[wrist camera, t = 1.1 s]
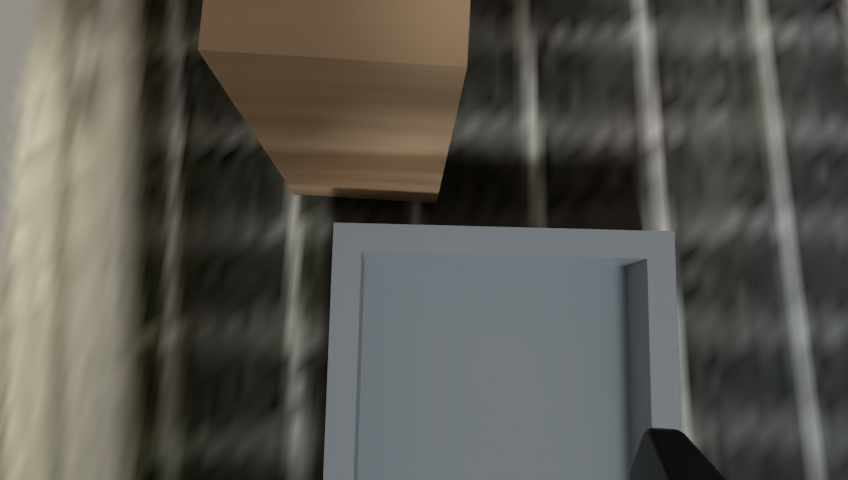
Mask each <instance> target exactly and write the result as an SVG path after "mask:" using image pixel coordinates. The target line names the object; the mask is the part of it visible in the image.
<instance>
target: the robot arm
mask: <svg viewBox="0 0 848 480" xmlns="http://www.w3.org/2000/svg"><path fill="white" fill-rule="evenodd" d="M629 480H726V478H725V477H724V476H723V475H722V474H721V473H720V472H719V471H718V470H717V469H716V468H715V467H714V465H713V464H712V463H711V462H710V461H709V460H708V459H707V458H706V457H705V456H704V455H703V454H702V452H701V451H700V450H699V449H698V448H697V447H696V446H695V445H694V444H693V443H692V442H691V441H690V439H689V438H688V437H687V436H686V435H685V434H684V433H682V432H681V431H679V430H677V429H667V428H648V429H647V430H645V432H644V433H643V435H642V438H641V441H640V444H639V447H638V449H637V452H636V455H635V458H634V461H633V464H632V467H631V471H630V479H629Z"/></svg>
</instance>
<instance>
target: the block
mask: <svg viewBox="0 0 848 480" xmlns="http://www.w3.org/2000/svg"><path fill="white" fill-rule="evenodd" d="M469 19H470V0H203V6H202V15H201V24H200V33H199V42H198V51H199V53H200V54H201V56H202V57H203V59H204V60H205V62H206V63H207V65H208V66H209V68H210V69H211V71H212V72H213V74H214V75H215V77H216V78H217V80H218V81H219V83H220V84H221V86H222V87H223V89H224V90H225V92H226V93H227V95H228V96H229V98H230V99H231V100H232V102H233V103H234V105H235V106H236V108H237V109H238V111H239V112H240V114H241V115H242V117H243V118H244V120H245V121H246V123H247V124H248V126H249V127H250V129H251V130H252V132H253V133H254V135H255V136H256V138H257V139H258V141H259V142H260V144H261V145H262V147H263V148H264V150H265V151H266V153H267V154H268V156H269V157H270V159H271V160H272V162H273V163H274V165H275V166H276V168H277V169H278V171H279V172H280V174H281V175H282V177H283V178H284V180H285V181H286V183H287V184H288V186H289V187H290V189H291V190H292V192H293V193H294V194H296V195H313V196H329V197H346V198H362V199H379V200H395V201H411V202H428V203H437V198H438V194H439V189H440V185H441V181H442V176H443V172H444V167H445V163H446V159H447V154H448V150H449V145H450V141H451V136H452V132H453V128H454V123H455V119H456V114H457V110H458V106H459V101H460V97H461V92H462V88H463V83H464V79H465V75H466V70H467V60H468V40H469Z"/></svg>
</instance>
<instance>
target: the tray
mask: <svg viewBox="0 0 848 480" xmlns="http://www.w3.org/2000/svg"><path fill="white" fill-rule="evenodd" d="M648 428H667V429H677V430H679V431H681V410H680V380H679V351H678V322H677V293H676V263H675V234H674V231H643V230H604V229H566V228H527V227H488V226H450V225H411V224H372V223H334V225H333V249H332V274H331V298H330V323H329V347H328V371H327V396H326V420H325V444H324V469H323V480H629V479H630V471H631V467H632V464H633V461H634V458H635V455H636V452H637V449H638V447H639V444H640V441H641V438H642V435H643V433H644V432H645V430H647V429H648Z"/></svg>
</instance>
